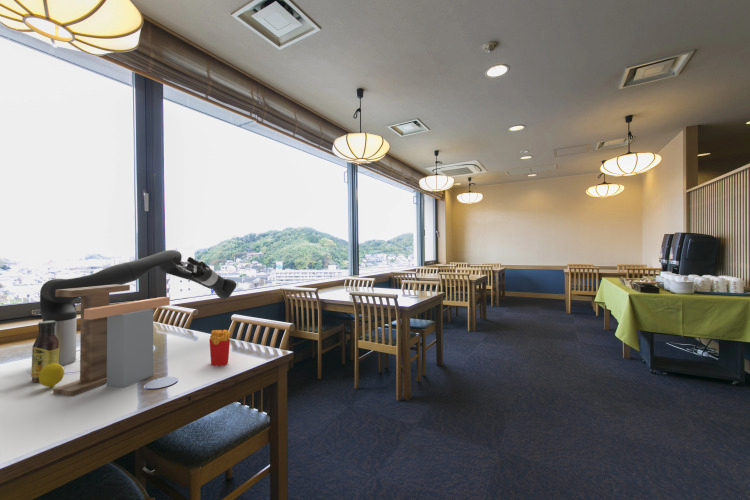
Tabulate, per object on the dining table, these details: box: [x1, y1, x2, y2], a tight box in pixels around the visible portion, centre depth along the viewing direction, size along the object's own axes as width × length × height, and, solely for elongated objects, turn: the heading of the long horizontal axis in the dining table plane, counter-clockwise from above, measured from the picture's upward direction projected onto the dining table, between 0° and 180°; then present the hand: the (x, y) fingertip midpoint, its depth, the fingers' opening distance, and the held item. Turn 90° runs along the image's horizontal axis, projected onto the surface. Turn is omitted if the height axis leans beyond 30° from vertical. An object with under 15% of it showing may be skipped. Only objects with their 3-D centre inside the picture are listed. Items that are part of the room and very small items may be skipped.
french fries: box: [209, 329, 231, 367], centre depth 117 cm, size 9×4×13 cm, turn 68°
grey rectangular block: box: [106, 308, 154, 388], centre depth 102 cm, size 7×10×24 cm
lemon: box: [38, 362, 65, 388], centre depth 96 cm, size 6×6×8 cm
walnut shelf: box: [52, 284, 131, 397], centre depth 99 cm, size 8×17×32 cm, turn 167°
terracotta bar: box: [84, 296, 171, 320], centre depth 102 cm, size 3×26×3 cm, turn 167°
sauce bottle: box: [30, 320, 59, 383], centre depth 102 cm, size 6×6×20 cm
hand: (180, 258), depth 129 cm, fingers open, 8 cm apart
